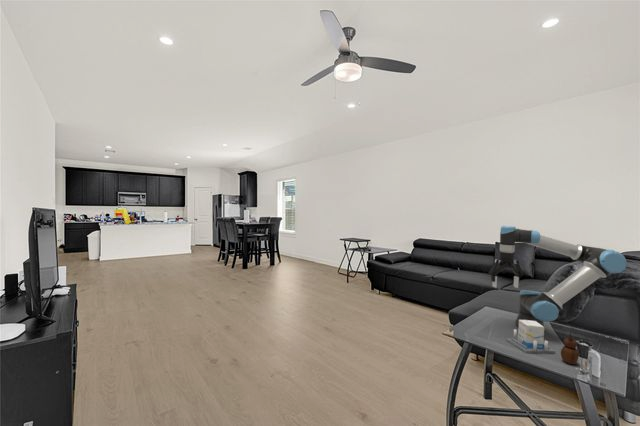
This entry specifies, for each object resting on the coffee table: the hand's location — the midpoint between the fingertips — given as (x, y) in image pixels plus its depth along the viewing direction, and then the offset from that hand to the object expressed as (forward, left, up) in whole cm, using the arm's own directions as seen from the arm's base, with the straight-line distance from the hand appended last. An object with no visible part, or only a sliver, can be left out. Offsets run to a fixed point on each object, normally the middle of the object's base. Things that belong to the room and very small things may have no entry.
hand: (505, 287), depth 169 cm
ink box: (-1, +19, -26) cm, 32 cm away
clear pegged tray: (-1, +19, -27) cm, 32 cm away
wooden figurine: (-8, +34, -27) cm, 44 cm away
